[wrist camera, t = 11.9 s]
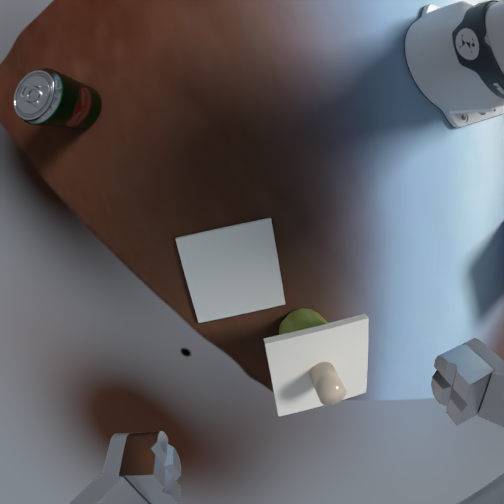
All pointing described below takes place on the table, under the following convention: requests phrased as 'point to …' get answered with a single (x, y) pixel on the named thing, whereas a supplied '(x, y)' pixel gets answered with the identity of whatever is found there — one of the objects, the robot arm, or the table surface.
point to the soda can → (56, 100)
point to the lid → (318, 364)
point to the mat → (232, 269)
